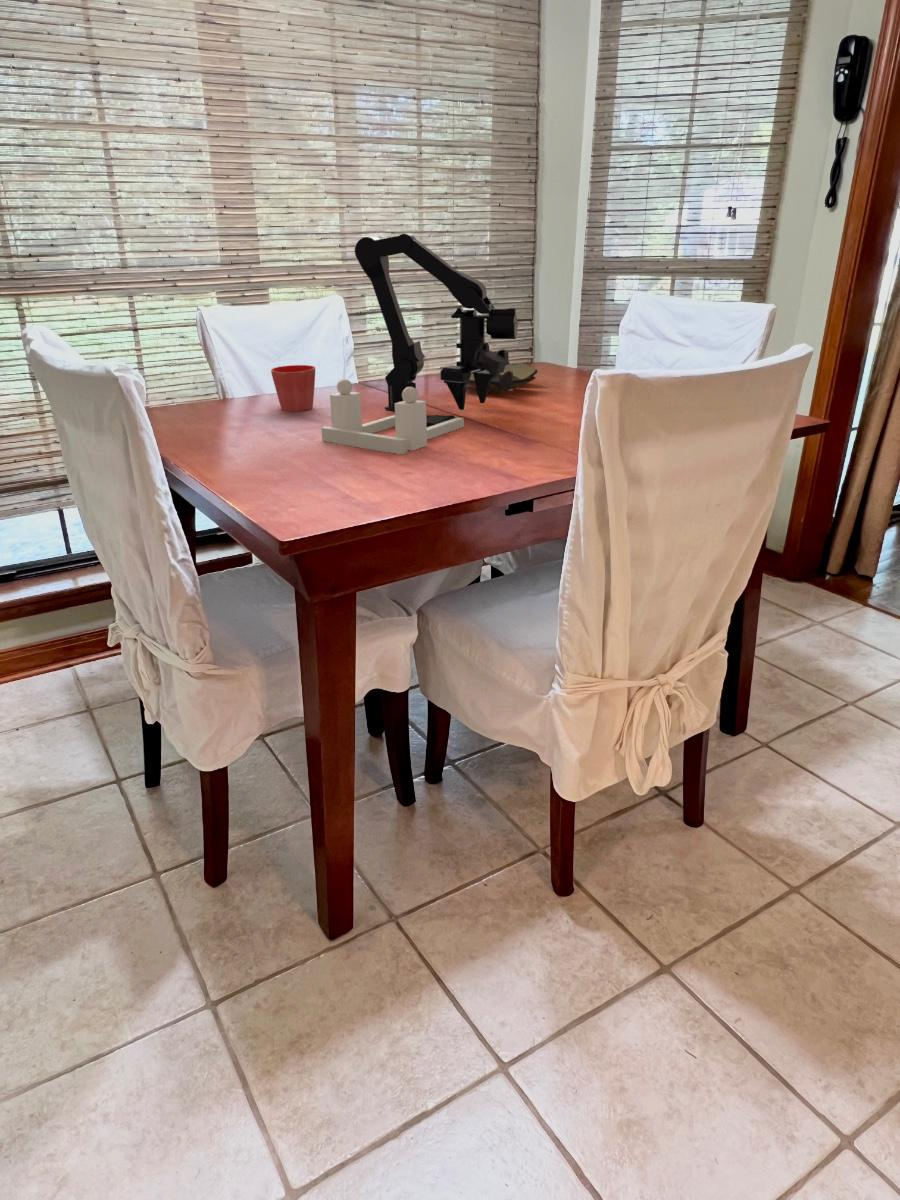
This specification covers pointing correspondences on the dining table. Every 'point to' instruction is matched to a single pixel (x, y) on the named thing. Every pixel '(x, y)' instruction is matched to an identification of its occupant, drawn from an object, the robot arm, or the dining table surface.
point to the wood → (437, 419)
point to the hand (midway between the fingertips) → (472, 406)
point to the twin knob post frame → (382, 423)
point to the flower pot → (294, 386)
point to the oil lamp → (510, 377)
